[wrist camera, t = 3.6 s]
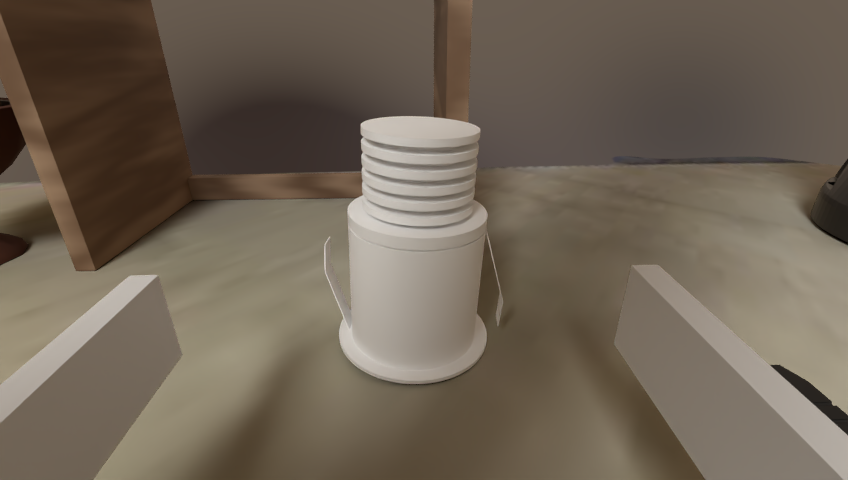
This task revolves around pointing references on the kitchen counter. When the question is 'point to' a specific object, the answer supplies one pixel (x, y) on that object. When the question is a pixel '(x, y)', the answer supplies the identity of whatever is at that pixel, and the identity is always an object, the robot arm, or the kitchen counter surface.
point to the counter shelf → (146, 119)
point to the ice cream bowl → (3, 146)
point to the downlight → (415, 252)
